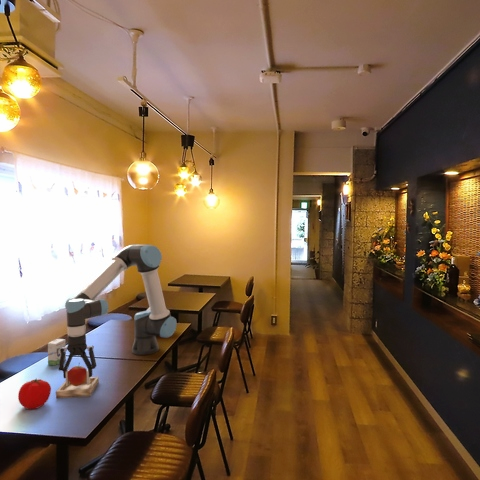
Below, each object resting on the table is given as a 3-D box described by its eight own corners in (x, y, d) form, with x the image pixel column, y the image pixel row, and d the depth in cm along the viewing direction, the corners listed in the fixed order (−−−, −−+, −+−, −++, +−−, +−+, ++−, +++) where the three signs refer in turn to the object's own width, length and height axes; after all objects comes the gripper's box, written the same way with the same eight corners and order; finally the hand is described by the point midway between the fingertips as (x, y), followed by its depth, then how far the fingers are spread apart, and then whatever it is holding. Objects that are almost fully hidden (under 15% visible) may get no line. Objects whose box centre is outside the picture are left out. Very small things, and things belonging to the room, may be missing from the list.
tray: (98, 383, 179) (98, 376, 178) (89, 396, 165) (89, 389, 165) (67, 384, 177) (67, 378, 177) (56, 398, 163) (55, 391, 163)
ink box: (58, 359, 211) (57, 338, 211) (66, 359, 210) (65, 338, 210) (47, 365, 203) (46, 343, 202) (56, 365, 202) (55, 343, 201)
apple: (65, 385, 171) (64, 363, 170) (82, 380, 177) (82, 358, 176) (73, 390, 165) (72, 368, 165) (91, 384, 171) (90, 362, 171)
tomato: (16, 415, 149) (15, 387, 149) (20, 403, 160) (19, 376, 159) (50, 409, 154) (49, 382, 153) (52, 397, 164) (51, 372, 164)
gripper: (103, 331, 175) (104, 379, 176) (55, 333, 173) (57, 382, 174) (98, 335, 167) (100, 386, 168) (48, 338, 165) (50, 389, 166)
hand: (78, 384), depth 171 cm, fingers closed on apple, 8 cm apart
